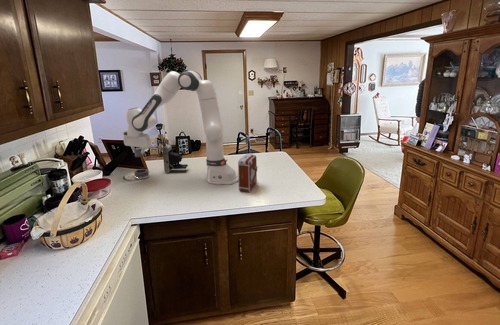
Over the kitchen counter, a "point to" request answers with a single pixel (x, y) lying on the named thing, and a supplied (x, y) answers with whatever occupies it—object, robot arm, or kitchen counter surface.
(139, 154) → the lens cap
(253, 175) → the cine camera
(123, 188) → the kitchen counter surface
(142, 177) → the lens barrel
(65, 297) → the kitchen counter surface
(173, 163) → the vintage camera
